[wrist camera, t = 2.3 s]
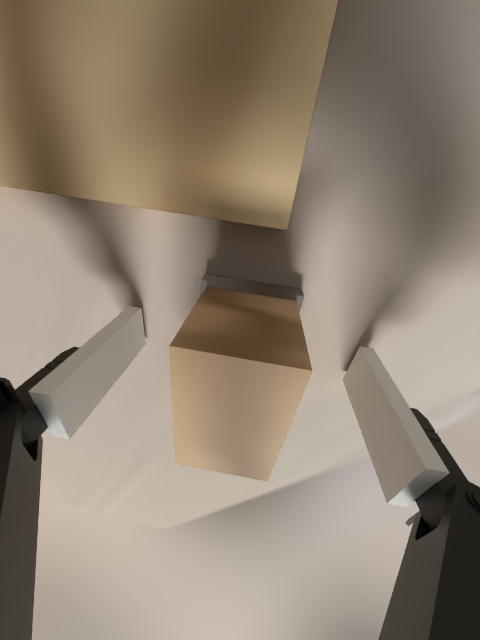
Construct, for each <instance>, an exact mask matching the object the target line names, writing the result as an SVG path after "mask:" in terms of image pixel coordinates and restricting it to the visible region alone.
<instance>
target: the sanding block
mask: <svg viewBox="0 0 480 640" xmlns="http://www.w3.org/2000/svg"><path fill="white" fill-rule="evenodd" d="M303 299H304V295H303V291H302V289H296V288H290V287H284V286H278V285H272V284H265V283H259V282H253V281H247V280H241V279H235V278H229V277H222V276H216V275H210V274H205V275H204V277H203V278H202V279H201V296H200V298H199V300H198V301H197V303H196V304H195V306H194V307H193V309H192V311H191V312H190V314H189V315H188V317H187V319H186V320H185V322H184V323H183V325H182V327H181V328H180V330H179V331H178V333H177V335H176V336H175V338H174V339H173V341H172V343H171V344H170V346H169V347H170V367H171V387H172V408H173V428H174V448H175V464H180V465H185V466H190V467H195V468H201V469H206V470H211V471H216V472H221V473H227V474H232V475H237V476H242V477H247V478H253V479H258V480H263V481H268V480H269V477H270V475H271V472H272V470H273V467H274V465H275V462H276V460H277V457H278V455H279V452H280V450H281V447H282V445H283V442H284V440H285V437H286V435H287V432H288V430H289V427H290V425H291V422H292V420H293V417H294V415H295V412H296V410H297V407H298V405H299V402H300V400H301V397H302V395H303V392H304V390H305V387H306V385H307V382H308V380H309V377H310V375H311V373H312V368H311V363H310V359H309V354H308V350H307V345H306V341H305V337H304V332H303V328H302V323H301V319H300V314H299V312H300V308H301V305H302V302H303Z"/></svg>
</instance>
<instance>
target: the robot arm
mask: <svg viewBox="0 0 480 640" xmlns="http://www.w3.org/2000/svg"><path fill="white" fill-rule="evenodd" d="M145 344H146V342H145V334H144V325H143V317H142V308H138V307H132V306H129V307H127V308H126V309H125V310H124V311H123V312H122V313H120V314H119V315H118V316H117V317H116V318H114V319H113V320H112V321H111V322H110V323H109V324H107V325H106V326H105V327H104V328H103V329H101V330H100V331H99V332H98V333H97V334H95V335H94V336H93V337H92V338H91V339H90V340H88V341H87V342H86V343H85V344H84V345H82V346H81V347H80V348H78V347H73V348H70V349H68V350H66V351H64V352H62V353H61V354H60V355H58V356H57V357H56V358H55V359H53V361H52V362H49V363H48V364H47V365H46V366H45V367H44V368H42V369H41V370H39V371H38V372H37V373H36V374H34V375H33V376H32V377H31V378H29V379H28V380H27V381H26V382H24V383H23V384H22V385H21V386H19V387H18V388H17V389H16V390H15V389H14V388H13V386H12V384H11V383H10V381H9V380H7V379H6V378H0V640H31V639H32V621H33V604H34V586H35V569H36V551H37V533H38V515H39V497H40V479H41V462H42V444H43V439H42V436H41V434H42V433H43V432H44V431H45V430H46V429H47V428H48V429H49V431H50V433H51V435H52V436H55V437H60V438H65V439H70V438H71V437H72V436H73V435H74V433H75V432H76V431H77V430H78V428H79V427H80V426H81V425H82V423H83V422H84V421H85V420H86V418H87V417H88V416H89V415H90V413H91V412H92V411H93V410H94V408H95V407H96V406H97V405H98V403H99V402H100V401H101V400H102V398H103V397H104V396H105V395H106V393H107V392H108V391H109V390H110V388H111V387H112V386H113V384H114V383H115V382H116V381H117V379H118V378H119V377H120V376H121V374H122V373H123V372H124V371H125V369H126V368H127V367H128V366H129V364H130V363H131V362H132V361H133V359H134V358H135V357H136V356H137V354H138V353H139V352H140V351H141V349H142V348H143V347H144V346H145ZM343 382H344V385H345V387H346V390H347V393H348V396H349V399H350V401H351V404H352V407H353V410H354V413H355V415H356V418H357V421H358V424H359V426H360V429H361V432H362V435H363V438H364V440H365V443H366V446H367V449H368V451H369V454H370V457H371V460H372V462H373V465H374V468H375V471H376V474H377V476H378V479H379V482H380V485H381V487H382V490H383V493H384V496H385V498H386V501H387V503H388V504H393V505H398V506H403V507H408V506H409V505H410V504H412V503H413V502H414V501H416V503H417V505H418V507H419V510H420V511H419V512H418V513H416V514H415V515H414V516H412V517H411V518H409V519H408V520H407V522H406V524H407V525H408V526H409V525H410V524H412V523H413V522H414V523H413V526H412V529H411V533H410V536H409V540H408V543H407V547H406V550H405V553H404V556H403V560H402V563H401V567H400V570H399V573H398V576H397V580H396V583H395V586H394V590H393V593H392V596H391V600H390V603H389V606H388V610H387V613H386V617H385V620H384V623H383V626H382V630H381V633H380V637H379V640H480V487H478V486H476V485H475V484H473V483H470V482H469V481H468V480H467V478H466V477H465V476H464V474H463V472H462V471H461V469H460V468H459V466H458V465H457V463H456V462H455V460H454V459H453V457H452V456H451V454H450V453H449V451H448V450H447V448H446V447H445V445H444V444H443V443H442V442H441V439H440V438H439V436H438V435H437V433H435V430H434V428H433V427H432V425H431V424H430V422H429V421H428V419H426V418H425V417H424V416H423V415H422V414H421V413H420V412H419V411H418V410H417V409H414V408H409V406H408V404H407V403H406V401H405V399H404V398H403V396H402V395H401V393H400V391H399V390H398V388H397V386H396V385H395V383H394V382H393V380H392V378H391V377H390V375H389V373H388V372H387V370H386V369H385V367H384V365H383V364H382V362H381V360H380V359H379V357H378V356H377V354H376V352H375V351H374V349H373V348H367V347H361V346H360V347H359V349H358V351H357V353H356V355H355V357H354V359H353V361H352V363H351V365H350V366H349V368H348V370H347V372H346V374H345V376H344V378H343Z"/></svg>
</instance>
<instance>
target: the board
mask: <svg viewBox="0 0 480 640" xmlns="http://www.w3.org/2000/svg"><path fill="white" fill-rule="evenodd" d="M337 3H338V0H0V186H5V187H12V188H18V189H25V190H31V191H38V192H44V193H51V194H57V195H64V196H70V197H77V198H83V199H89V200H96V201H102V202H109V203H115V204H122V205H128V206H135V207H141V208H148V209H154V210H161V211H167V212H173V213H180V214H186V215H193V216H199V217H206V218H212V219H219V220H225V221H232V222H238V223H245V224H251V225H258V226H264V227H270V228H277V229H283V230H287V228H288V224H289V219H290V215H291V210H292V206H293V201H294V197H295V192H296V188H297V183H298V179H299V174H300V170H301V165H302V161H303V156H304V152H305V147H306V143H307V138H308V134H309V129H310V125H311V120H312V116H313V111H314V107H315V102H316V98H317V93H318V89H319V84H320V80H321V75H322V71H323V66H324V62H325V57H326V53H327V48H328V44H329V39H330V35H331V30H332V26H333V21H334V17H335V12H336V8H337Z"/></svg>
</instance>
